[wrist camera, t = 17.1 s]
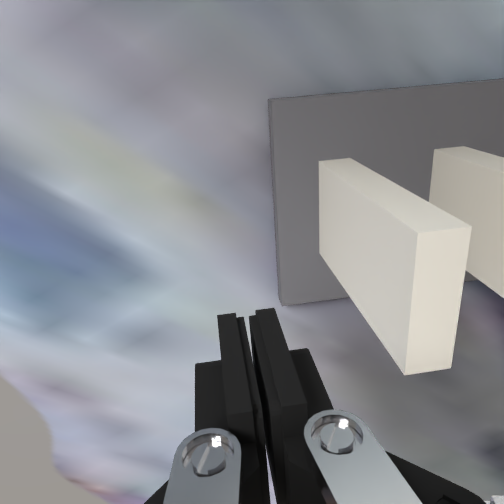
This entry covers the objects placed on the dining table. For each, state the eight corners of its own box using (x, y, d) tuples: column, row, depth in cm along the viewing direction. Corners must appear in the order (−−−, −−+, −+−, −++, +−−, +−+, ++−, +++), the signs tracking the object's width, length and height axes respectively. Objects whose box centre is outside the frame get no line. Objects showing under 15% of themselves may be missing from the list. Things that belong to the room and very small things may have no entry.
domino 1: (319, 253, 23) (404, 375, 14) (318, 161, 21) (418, 232, 12) (348, 249, 23) (450, 368, 14) (350, 157, 21) (471, 226, 12)
